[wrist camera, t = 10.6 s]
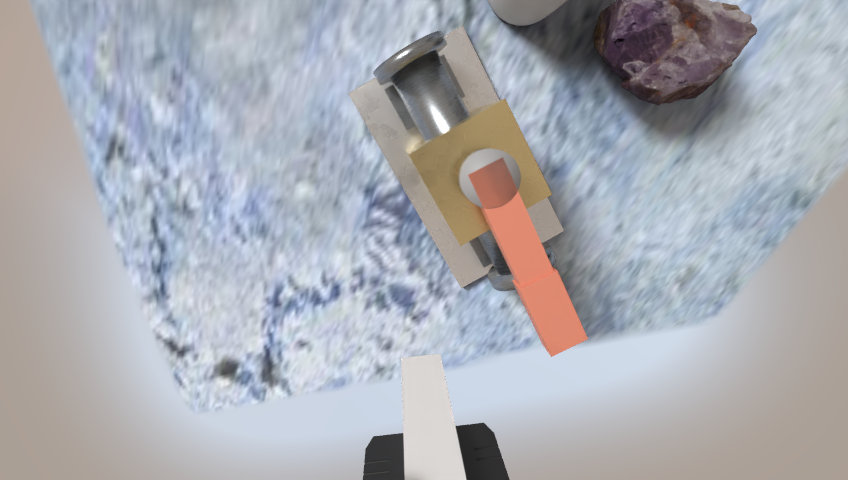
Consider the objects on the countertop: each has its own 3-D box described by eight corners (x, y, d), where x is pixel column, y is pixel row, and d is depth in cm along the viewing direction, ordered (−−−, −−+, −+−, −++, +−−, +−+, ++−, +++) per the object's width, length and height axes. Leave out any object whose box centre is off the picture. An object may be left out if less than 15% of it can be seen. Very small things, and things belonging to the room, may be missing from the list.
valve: (460, 27, 40) (488, -18, 28) (560, 228, 45) (619, 262, 33) (349, 94, 41) (330, 77, 29) (460, 284, 46) (482, 336, 34)
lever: (448, 164, 31) (452, 166, 29) (499, 138, 30) (507, 138, 28) (536, 347, 34) (545, 359, 32) (582, 324, 34) (594, 336, 32)
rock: (592, 0, 42) (581, 110, 44) (624, -37, 33) (608, 100, 35) (721, 1, 41) (703, 113, 43) (788, -38, 32) (761, 103, 34)
